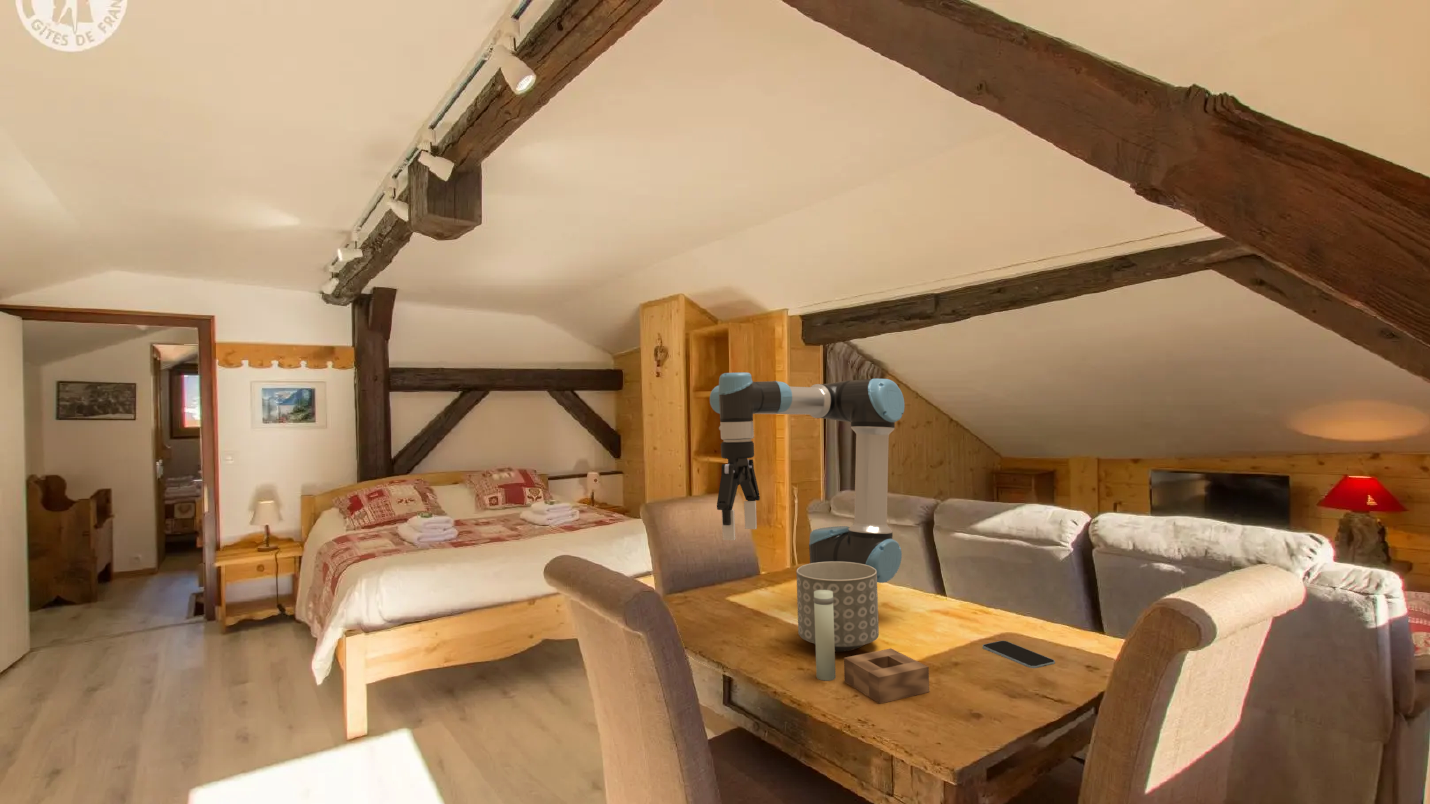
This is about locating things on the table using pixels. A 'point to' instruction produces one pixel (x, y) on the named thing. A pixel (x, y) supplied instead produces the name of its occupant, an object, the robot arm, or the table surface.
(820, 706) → the table surface
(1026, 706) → the table surface
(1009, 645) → the smartphone
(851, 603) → the planter
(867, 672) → the square wooden socket block
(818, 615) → the banded green cylinder
